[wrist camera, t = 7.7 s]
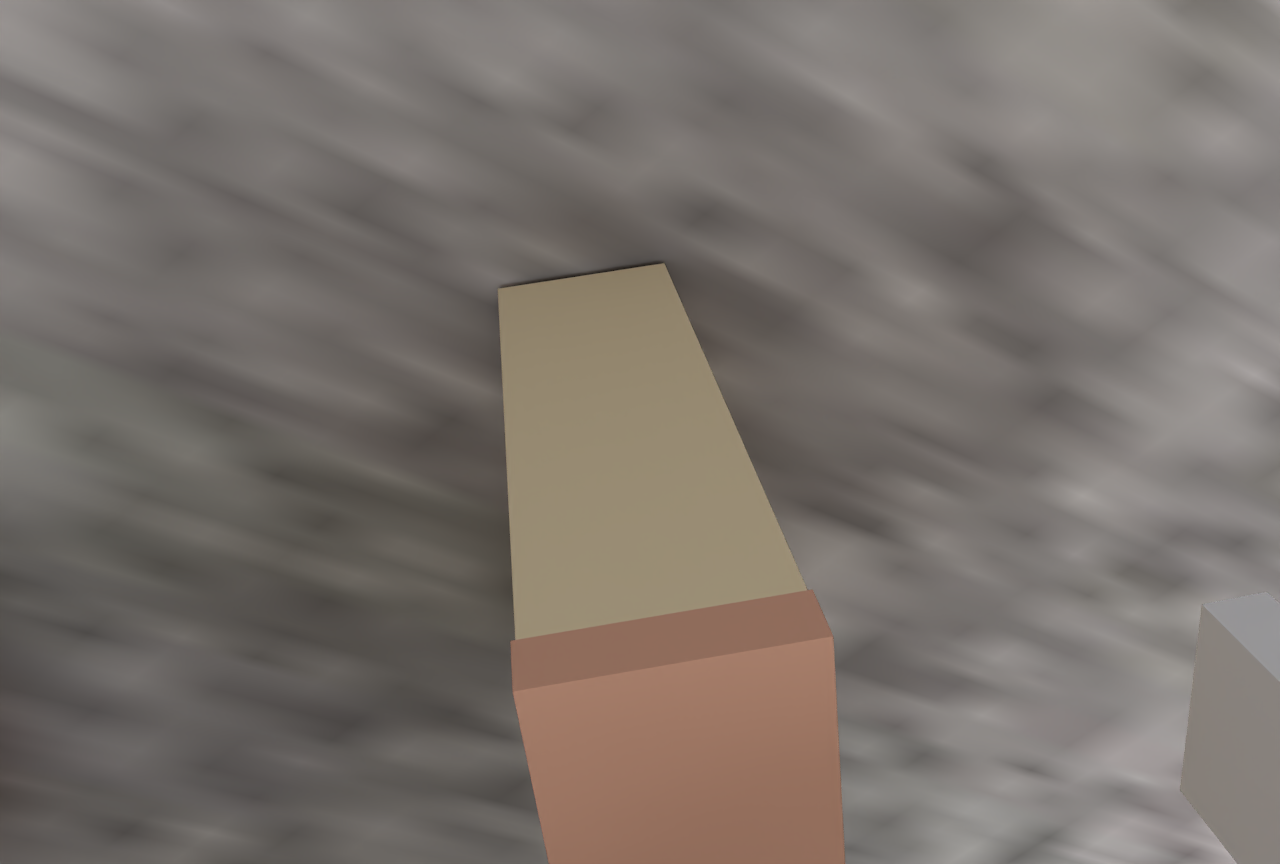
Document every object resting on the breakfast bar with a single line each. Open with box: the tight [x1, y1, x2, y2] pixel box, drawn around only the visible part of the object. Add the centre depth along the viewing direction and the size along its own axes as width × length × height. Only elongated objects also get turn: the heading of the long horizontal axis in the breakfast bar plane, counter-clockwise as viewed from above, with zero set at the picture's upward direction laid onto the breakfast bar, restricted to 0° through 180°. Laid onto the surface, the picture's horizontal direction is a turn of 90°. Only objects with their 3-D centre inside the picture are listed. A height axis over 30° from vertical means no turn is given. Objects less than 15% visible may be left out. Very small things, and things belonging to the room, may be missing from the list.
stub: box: [498, 263, 845, 864], centre depth 18 cm, size 3×8×11 cm, turn 7°
